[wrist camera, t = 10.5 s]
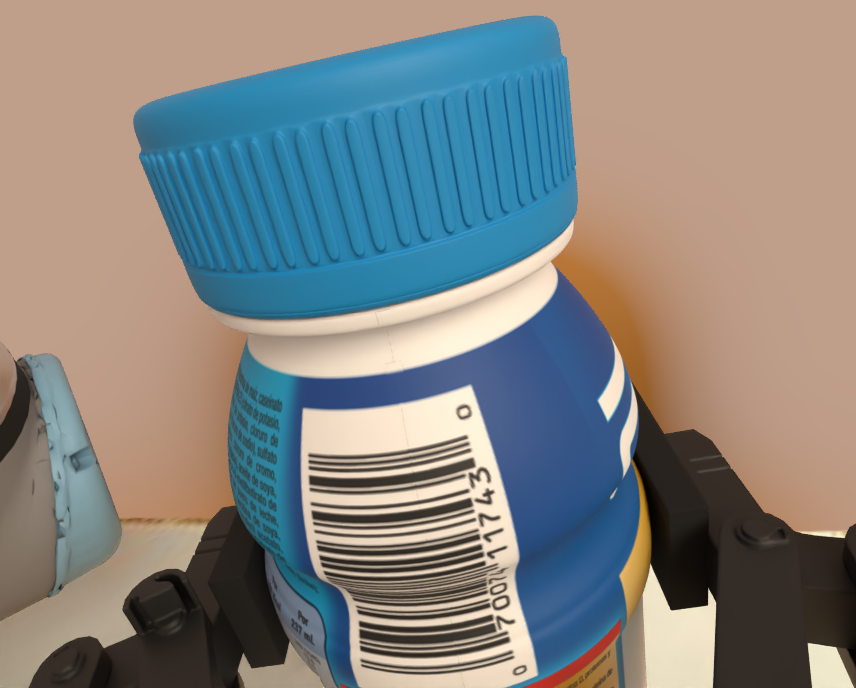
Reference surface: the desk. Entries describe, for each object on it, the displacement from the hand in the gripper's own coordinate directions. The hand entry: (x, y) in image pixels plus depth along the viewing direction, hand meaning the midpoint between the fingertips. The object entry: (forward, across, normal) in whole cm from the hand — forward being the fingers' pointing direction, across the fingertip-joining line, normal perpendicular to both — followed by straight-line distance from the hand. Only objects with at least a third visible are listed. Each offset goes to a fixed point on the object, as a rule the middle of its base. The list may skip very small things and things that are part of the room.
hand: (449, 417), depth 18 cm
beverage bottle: (-5, 0, -10) cm, 11 cm away
